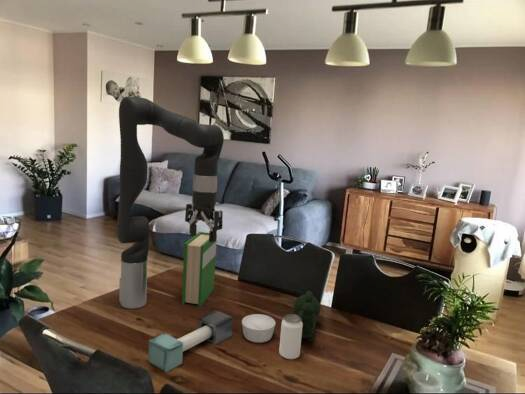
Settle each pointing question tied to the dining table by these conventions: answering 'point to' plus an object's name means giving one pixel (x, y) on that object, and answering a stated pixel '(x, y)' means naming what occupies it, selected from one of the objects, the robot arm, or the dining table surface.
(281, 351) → the can
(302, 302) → the dark green lumpy piece
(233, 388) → the dining table surface
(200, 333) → the tube
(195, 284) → the hardback book
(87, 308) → the dining table surface
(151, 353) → the socket
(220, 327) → the sleeve
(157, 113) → the robot arm
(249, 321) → the ramekin
